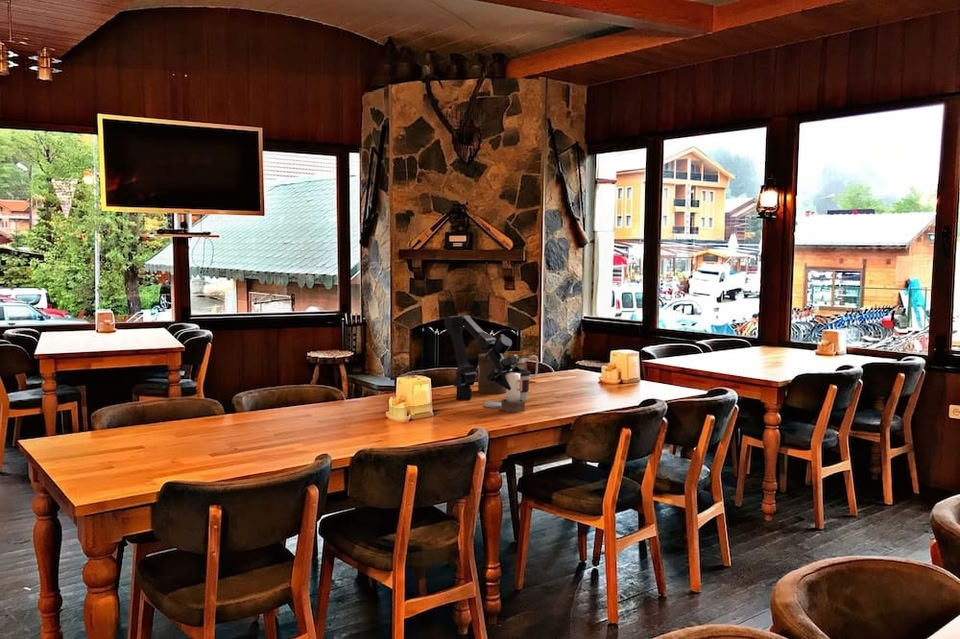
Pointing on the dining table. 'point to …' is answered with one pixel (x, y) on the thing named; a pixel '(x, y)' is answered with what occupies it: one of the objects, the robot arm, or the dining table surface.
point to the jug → (513, 387)
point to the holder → (513, 406)
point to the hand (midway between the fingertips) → (515, 388)
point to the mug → (522, 360)
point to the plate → (493, 404)
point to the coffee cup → (524, 384)
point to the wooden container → (483, 371)
